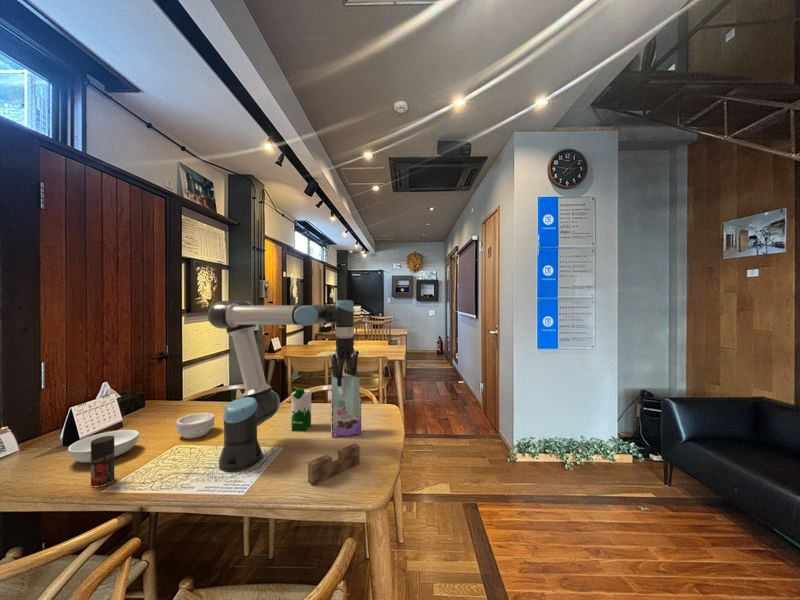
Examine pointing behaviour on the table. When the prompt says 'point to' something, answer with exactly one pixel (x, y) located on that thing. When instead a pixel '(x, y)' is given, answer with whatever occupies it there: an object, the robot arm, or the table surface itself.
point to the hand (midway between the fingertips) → (345, 392)
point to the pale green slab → (347, 394)
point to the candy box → (344, 422)
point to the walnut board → (333, 464)
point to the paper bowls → (195, 425)
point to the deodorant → (102, 460)
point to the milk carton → (301, 409)
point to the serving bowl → (121, 437)
